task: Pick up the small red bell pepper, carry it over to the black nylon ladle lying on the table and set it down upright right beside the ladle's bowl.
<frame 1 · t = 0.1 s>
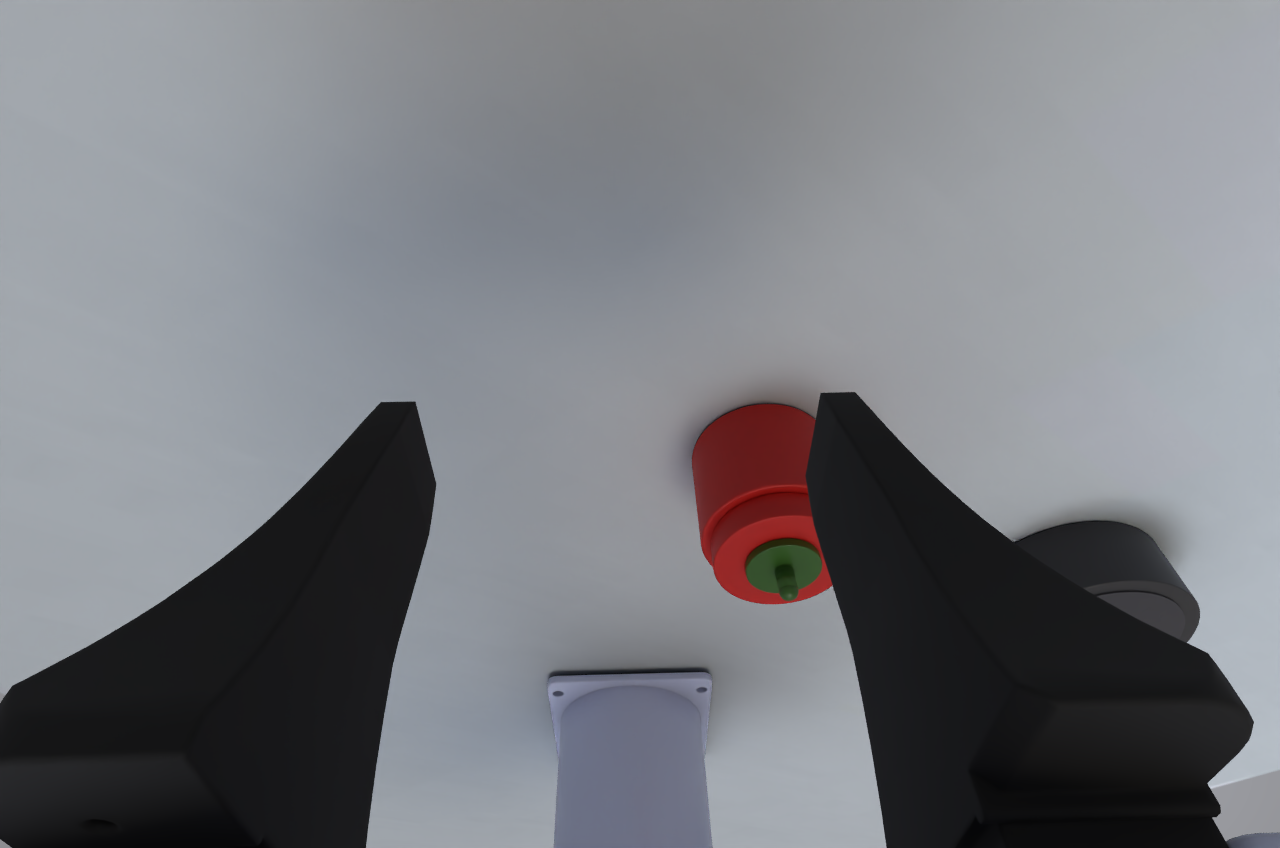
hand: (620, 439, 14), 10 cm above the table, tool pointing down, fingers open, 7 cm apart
pepper: (759, 455, 28), on the table
ladle: (1060, 582, 33), on the table
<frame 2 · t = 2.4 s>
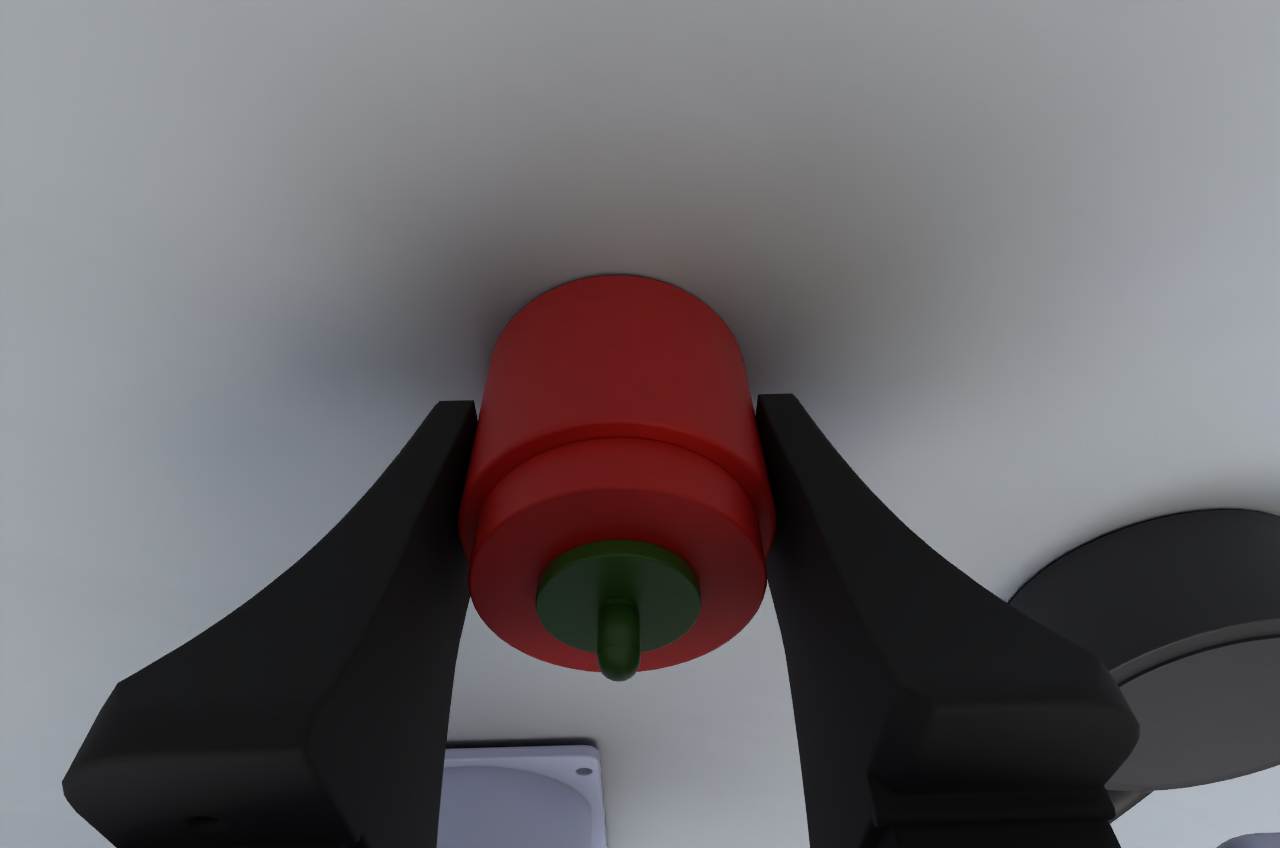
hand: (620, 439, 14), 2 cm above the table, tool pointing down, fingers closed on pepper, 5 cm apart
pepper: (617, 385, 15), on the table, touching gripper
ladle: (1148, 611, 20), on the table
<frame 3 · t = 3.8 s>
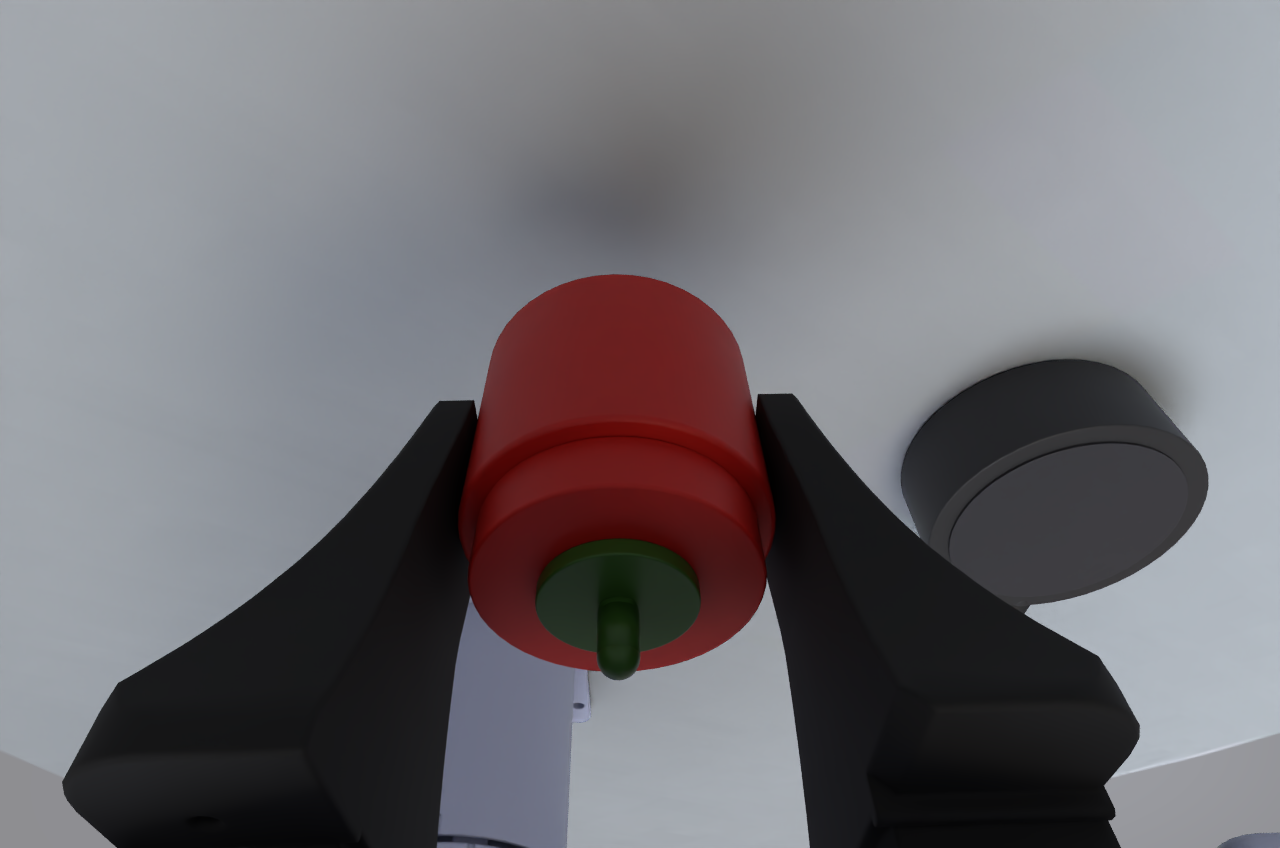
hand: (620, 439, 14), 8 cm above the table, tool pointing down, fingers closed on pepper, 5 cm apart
pepper: (617, 384, 15), point 6 cm above the table, touching gripper
ladle: (1023, 457, 25), on the table
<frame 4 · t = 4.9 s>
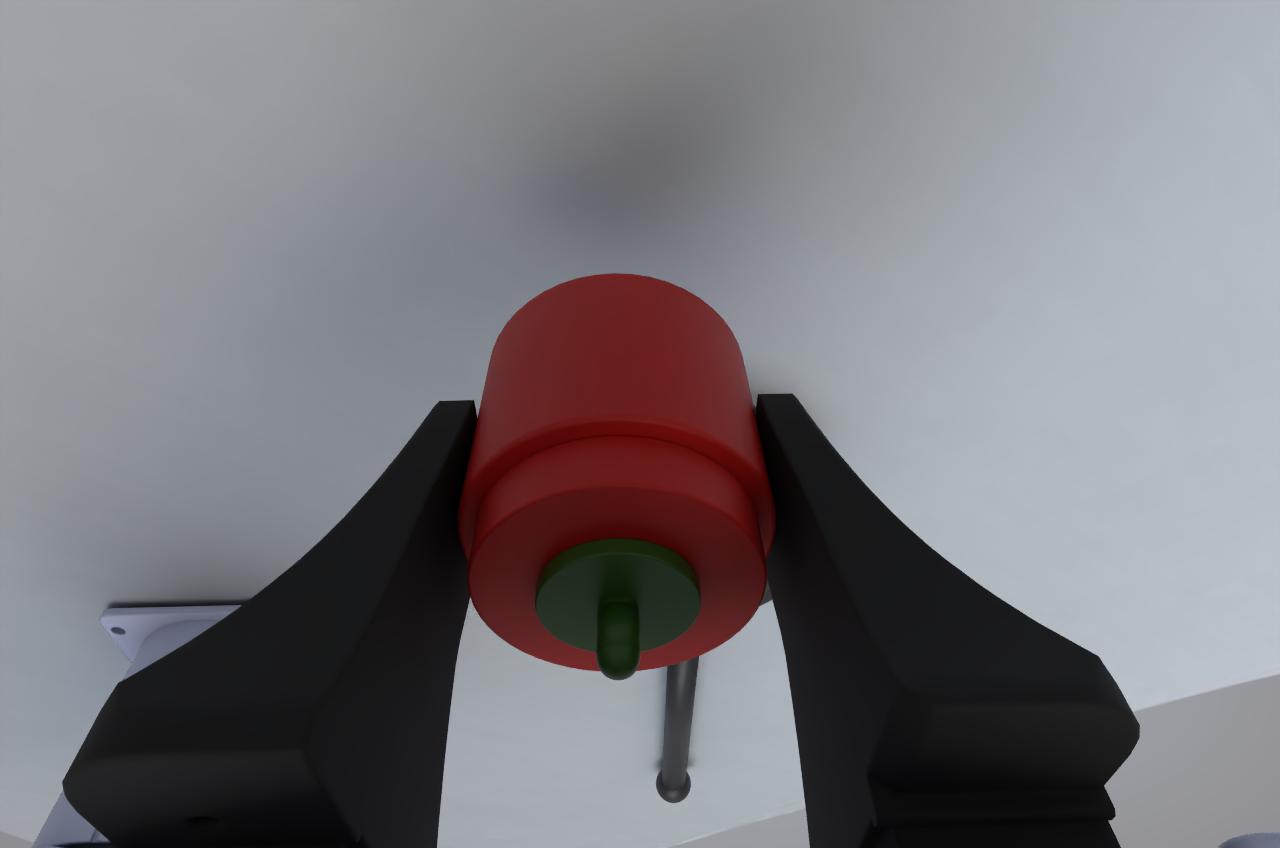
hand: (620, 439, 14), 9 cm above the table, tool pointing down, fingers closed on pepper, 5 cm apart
pepper: (617, 384, 15), point 7 cm above the table, touching gripper
ladle: (685, 483, 27), on the table
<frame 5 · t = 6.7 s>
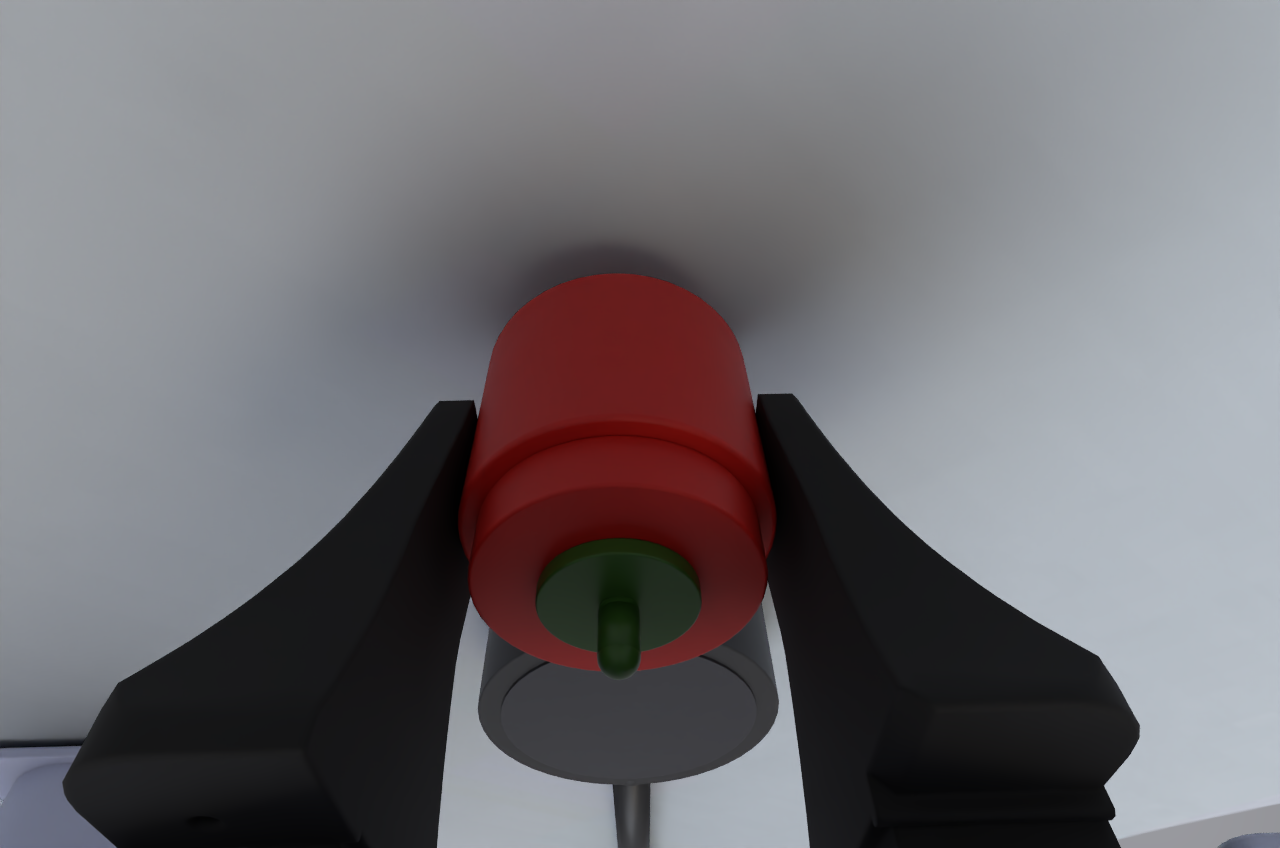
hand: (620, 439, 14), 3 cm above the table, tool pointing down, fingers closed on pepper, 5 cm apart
pepper: (617, 384, 15), point 1 cm above the table, touching gripper
ladle: (627, 622, 23), on the table
when the fingers open (2 cm above the table, at t = 7.7 s): pepper stays where it is, on the table.
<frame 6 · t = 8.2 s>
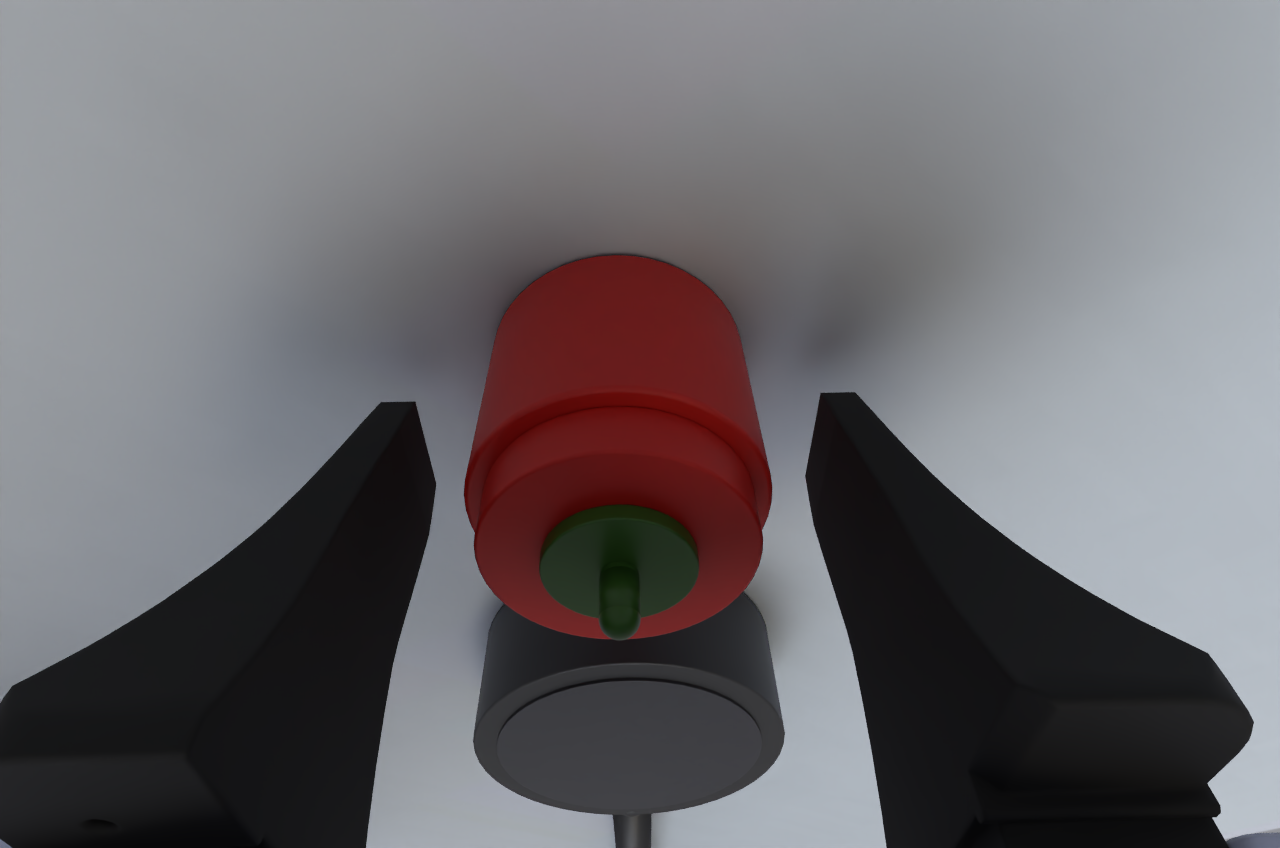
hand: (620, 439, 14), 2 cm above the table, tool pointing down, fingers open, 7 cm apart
pepper: (618, 364, 15), on the table
ladle: (628, 648, 22), on the table
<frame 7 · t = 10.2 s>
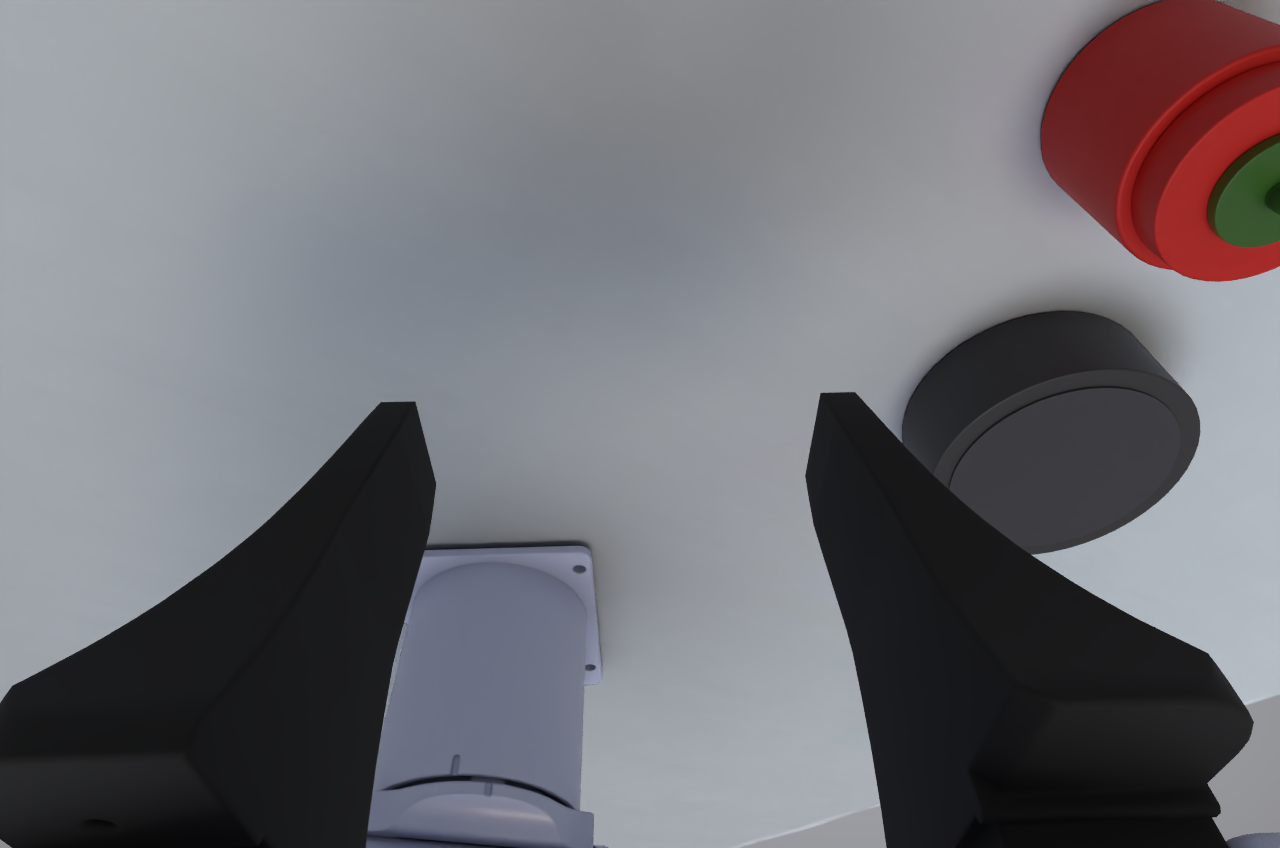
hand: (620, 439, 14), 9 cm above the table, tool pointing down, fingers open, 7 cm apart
pepper: (1142, 106, 19), on the table
ladle: (1021, 411, 26), on the table
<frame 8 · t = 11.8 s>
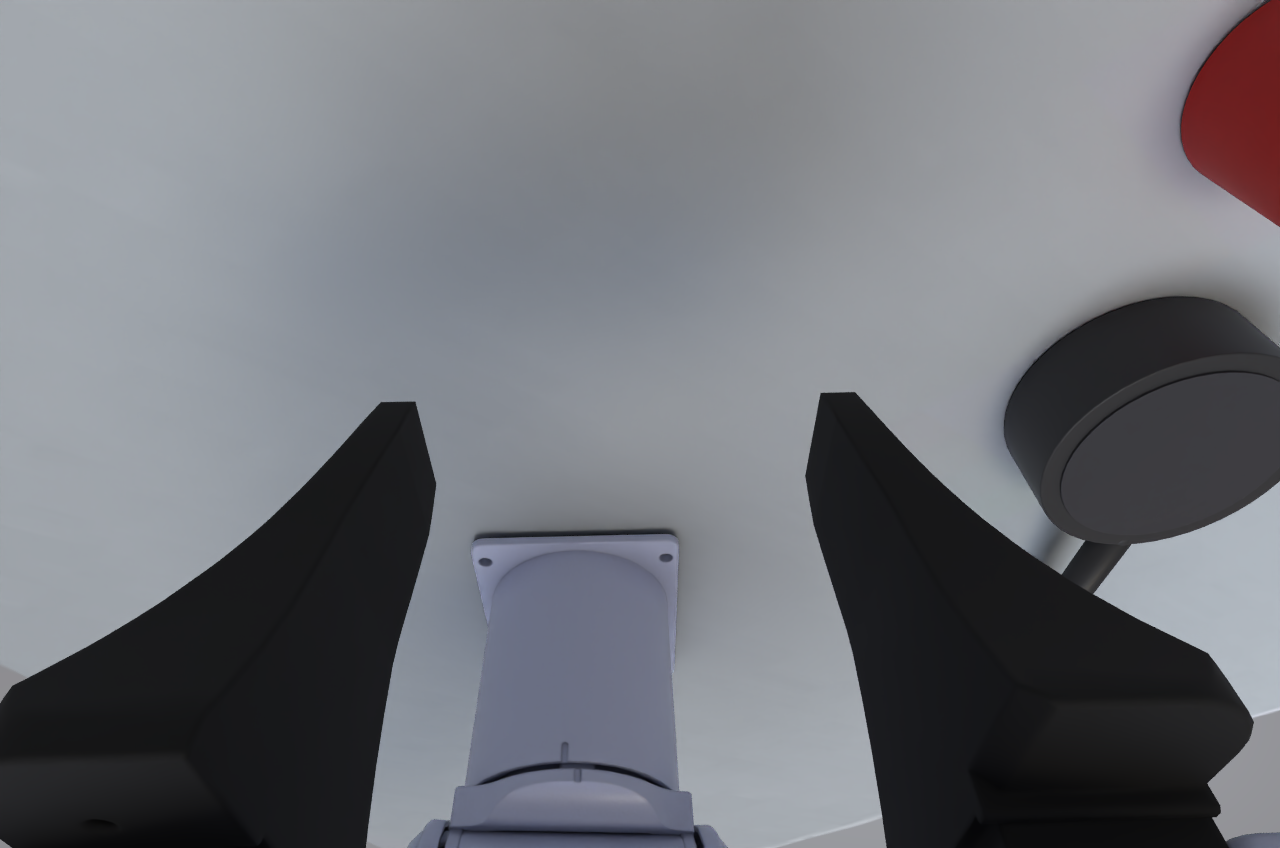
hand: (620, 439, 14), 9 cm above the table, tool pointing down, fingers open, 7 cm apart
ladle: (1126, 399, 26), on the table
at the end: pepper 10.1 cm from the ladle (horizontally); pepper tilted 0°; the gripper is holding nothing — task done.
